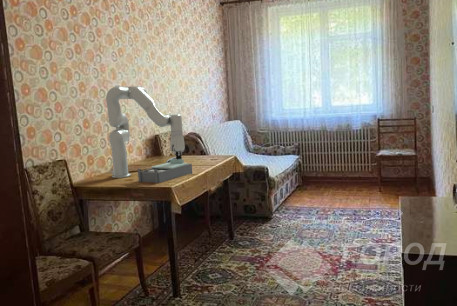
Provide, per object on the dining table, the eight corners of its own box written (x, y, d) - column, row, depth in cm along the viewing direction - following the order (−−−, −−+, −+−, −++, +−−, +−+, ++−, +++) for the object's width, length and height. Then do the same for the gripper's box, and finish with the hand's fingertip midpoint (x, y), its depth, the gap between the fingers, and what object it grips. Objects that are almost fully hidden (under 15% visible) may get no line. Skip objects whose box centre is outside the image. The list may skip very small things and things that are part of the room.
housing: (137, 183, 264) (136, 168, 262) (172, 173, 292) (171, 160, 291) (158, 184, 255) (157, 169, 254) (192, 174, 284) (191, 160, 282)
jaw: (148, 179, 268) (147, 170, 268) (153, 178, 272) (152, 169, 271) (155, 179, 266) (154, 171, 265) (159, 178, 269) (158, 169, 268)
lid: (151, 168, 274) (151, 162, 274) (167, 163, 288) (167, 158, 287) (172, 168, 265) (171, 163, 265) (187, 164, 279) (187, 159, 279)
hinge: (175, 167, 315) (178, 155, 312) (181, 170, 313) (183, 157, 310) (161, 172, 300) (164, 158, 297) (166, 174, 298) (169, 161, 295)
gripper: (179, 132, 291) (181, 159, 293) (165, 134, 278) (167, 163, 280) (188, 132, 287) (190, 159, 289) (174, 134, 274) (176, 163, 276)
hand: (179, 161), depth 285 cm, fingers closed
